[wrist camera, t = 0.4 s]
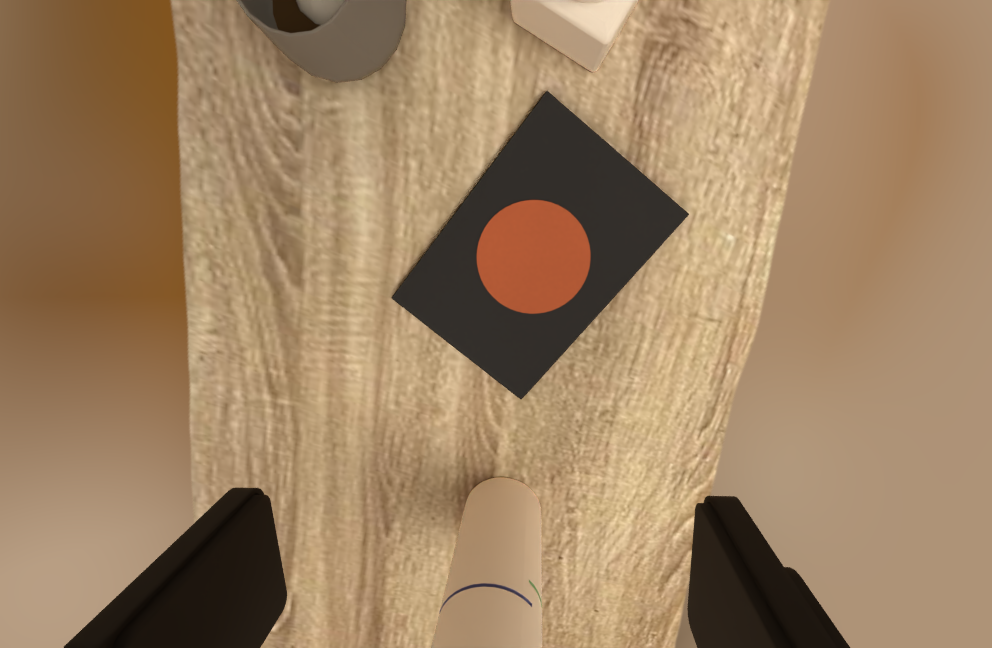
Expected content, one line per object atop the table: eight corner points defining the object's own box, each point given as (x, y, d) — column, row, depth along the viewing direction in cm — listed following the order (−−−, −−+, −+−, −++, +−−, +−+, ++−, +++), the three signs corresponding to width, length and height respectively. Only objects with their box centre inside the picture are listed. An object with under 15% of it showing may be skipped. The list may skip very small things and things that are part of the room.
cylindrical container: (496, 462, 43) (444, 793, 19) (557, 508, 44) (579, 883, 20) (450, 513, 45) (348, 873, 21) (508, 556, 46) (475, 953, 22)
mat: (546, 92, 35) (547, 90, 34) (687, 214, 36) (689, 214, 36) (393, 296, 40) (390, 298, 39) (521, 397, 41) (521, 400, 41)
